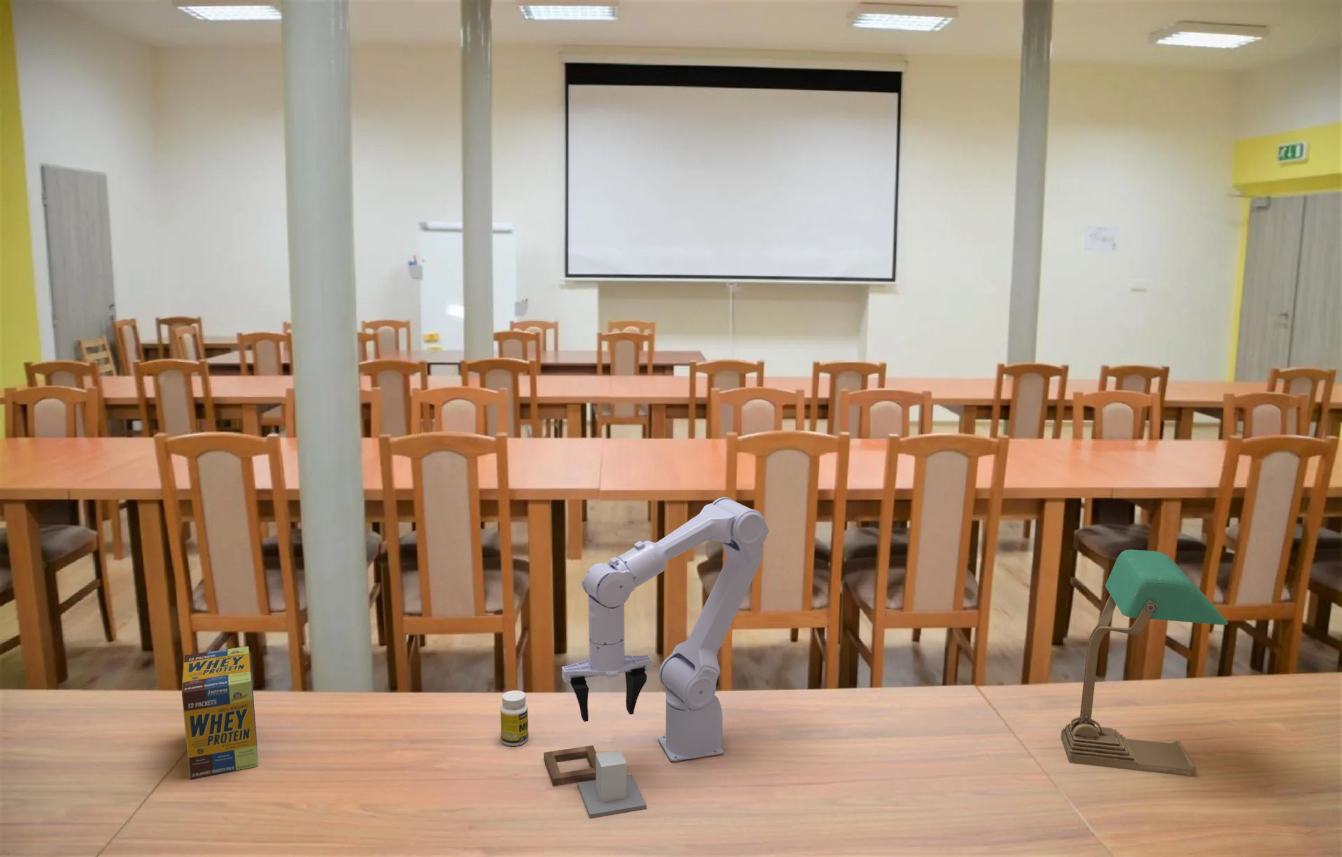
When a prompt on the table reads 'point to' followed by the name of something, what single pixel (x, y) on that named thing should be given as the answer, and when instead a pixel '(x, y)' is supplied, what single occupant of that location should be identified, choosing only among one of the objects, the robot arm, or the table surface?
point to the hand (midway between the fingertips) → (607, 715)
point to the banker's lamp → (1142, 593)
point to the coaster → (614, 806)
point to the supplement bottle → (514, 718)
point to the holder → (569, 754)
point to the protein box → (219, 712)
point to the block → (611, 776)
